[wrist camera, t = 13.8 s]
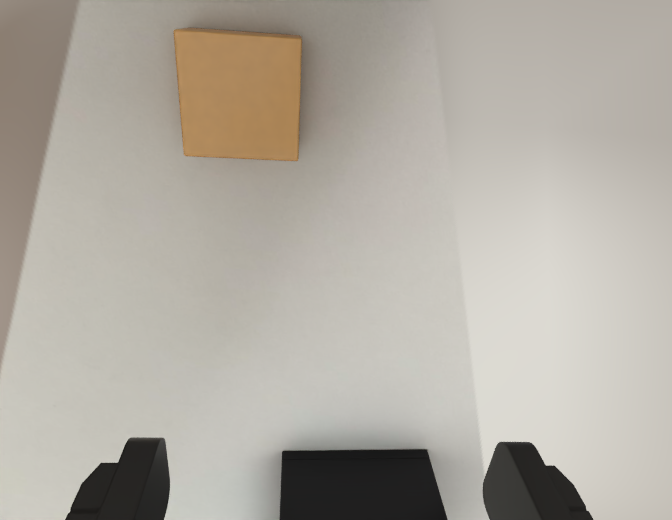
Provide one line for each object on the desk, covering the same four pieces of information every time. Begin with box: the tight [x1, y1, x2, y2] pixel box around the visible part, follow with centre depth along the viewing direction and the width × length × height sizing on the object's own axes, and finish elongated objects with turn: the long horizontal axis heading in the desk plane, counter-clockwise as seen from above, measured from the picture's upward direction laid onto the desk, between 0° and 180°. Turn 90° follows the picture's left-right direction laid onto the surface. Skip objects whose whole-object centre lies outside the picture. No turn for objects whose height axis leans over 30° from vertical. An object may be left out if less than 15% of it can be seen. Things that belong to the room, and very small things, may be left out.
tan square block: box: [174, 28, 302, 161], centre depth 23 cm, size 6×6×3 cm
